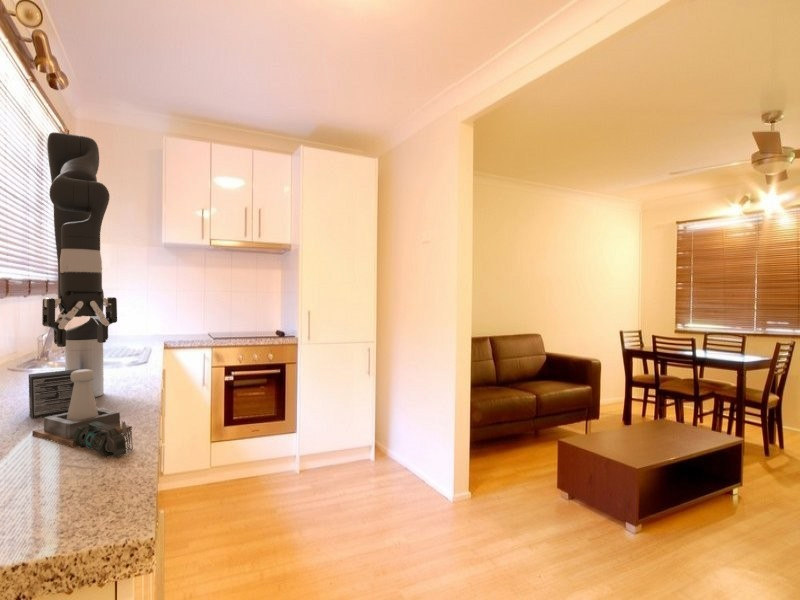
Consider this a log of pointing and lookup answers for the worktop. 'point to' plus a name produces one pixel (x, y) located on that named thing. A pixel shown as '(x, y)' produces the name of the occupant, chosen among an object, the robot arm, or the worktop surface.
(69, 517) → the worktop surface
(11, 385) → the worktop surface
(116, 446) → the stun grenade
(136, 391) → the worktop surface
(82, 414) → the salt shaker
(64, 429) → the socket board
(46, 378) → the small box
